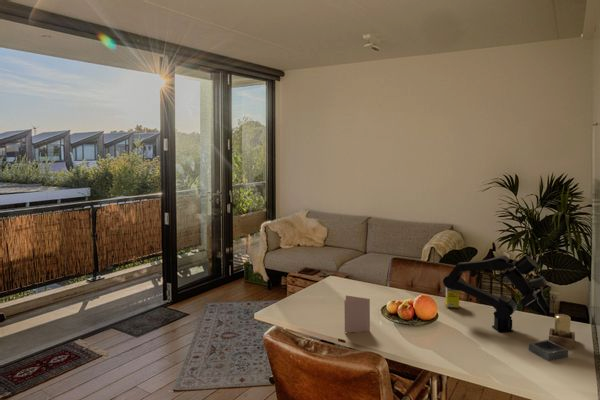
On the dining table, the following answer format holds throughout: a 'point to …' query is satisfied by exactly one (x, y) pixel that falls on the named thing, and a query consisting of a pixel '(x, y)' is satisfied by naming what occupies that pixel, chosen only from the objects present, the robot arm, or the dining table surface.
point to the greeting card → (357, 314)
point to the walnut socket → (563, 339)
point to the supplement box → (452, 298)
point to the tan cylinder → (562, 325)
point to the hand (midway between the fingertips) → (546, 310)
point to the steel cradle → (548, 350)
